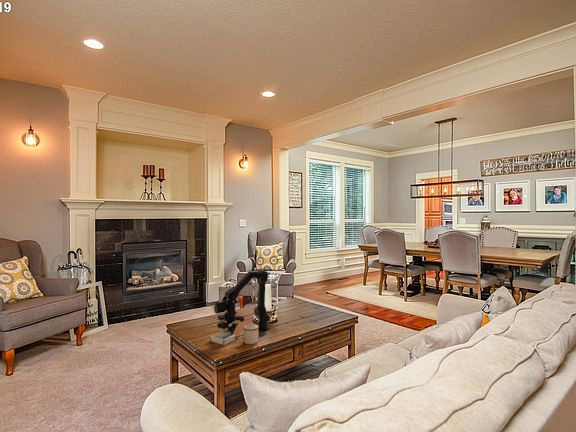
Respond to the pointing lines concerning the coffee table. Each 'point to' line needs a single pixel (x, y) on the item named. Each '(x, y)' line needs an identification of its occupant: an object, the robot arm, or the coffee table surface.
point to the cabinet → (223, 334)
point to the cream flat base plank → (222, 341)
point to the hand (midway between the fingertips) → (231, 335)
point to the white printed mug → (250, 333)
